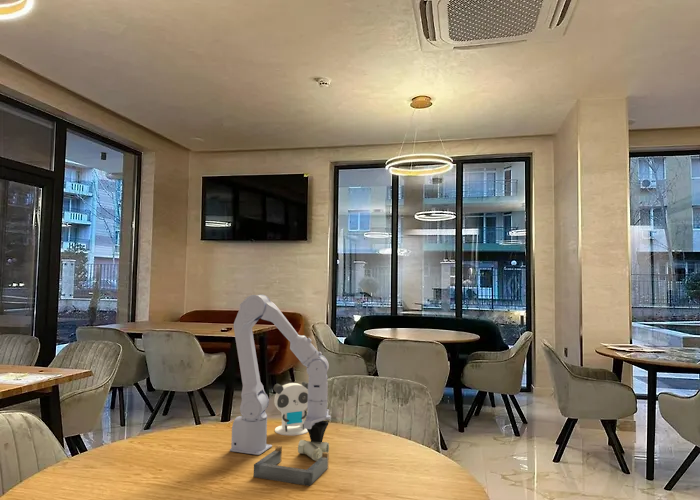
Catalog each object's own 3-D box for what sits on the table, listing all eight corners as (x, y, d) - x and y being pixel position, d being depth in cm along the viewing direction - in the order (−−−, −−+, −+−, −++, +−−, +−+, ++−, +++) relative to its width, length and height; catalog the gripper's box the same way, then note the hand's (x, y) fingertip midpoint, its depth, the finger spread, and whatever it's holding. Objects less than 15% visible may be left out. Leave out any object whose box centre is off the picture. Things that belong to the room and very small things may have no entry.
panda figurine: (278, 437, 150) (279, 388, 151) (268, 427, 160) (270, 381, 161) (314, 433, 155) (315, 385, 156) (303, 423, 165) (304, 379, 166)
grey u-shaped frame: (253, 477, 119) (254, 461, 119) (276, 460, 130) (276, 445, 130) (309, 485, 114) (310, 469, 114) (328, 467, 125) (328, 452, 126)
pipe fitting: (322, 464, 129) (329, 453, 135) (322, 449, 129) (329, 440, 135) (293, 461, 131) (302, 451, 137) (293, 446, 131) (301, 437, 137)
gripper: (321, 406, 130) (320, 458, 129) (339, 395, 144) (338, 442, 143) (297, 404, 132) (296, 455, 131) (317, 393, 146) (316, 439, 145)
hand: (316, 448), depth 137 cm, fingers closed
